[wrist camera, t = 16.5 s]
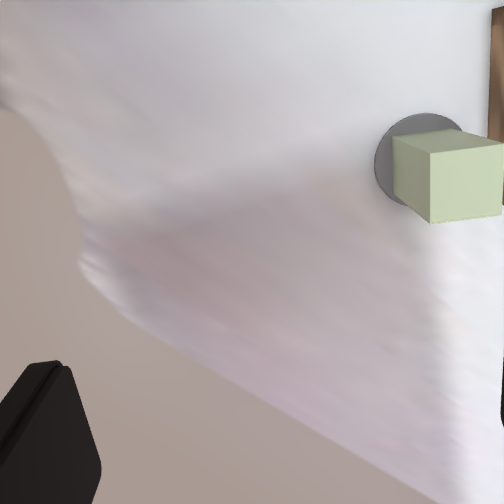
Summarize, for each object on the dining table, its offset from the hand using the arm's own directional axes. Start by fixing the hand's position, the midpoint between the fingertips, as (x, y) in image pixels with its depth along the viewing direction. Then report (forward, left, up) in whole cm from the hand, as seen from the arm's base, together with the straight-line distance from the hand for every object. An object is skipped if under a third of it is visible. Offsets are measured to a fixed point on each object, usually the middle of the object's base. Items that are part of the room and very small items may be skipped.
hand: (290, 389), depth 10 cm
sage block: (+3, +14, -33) cm, 36 cm away
